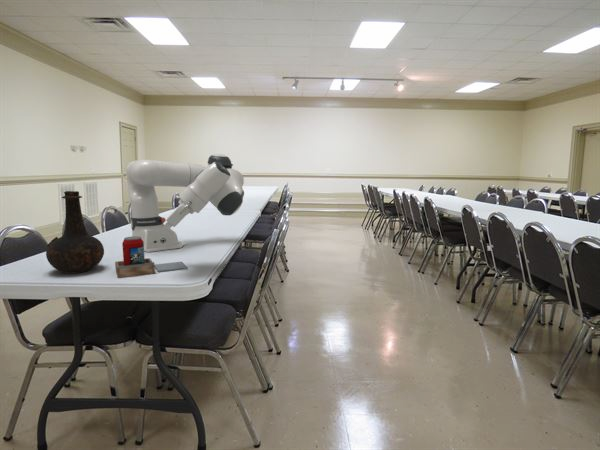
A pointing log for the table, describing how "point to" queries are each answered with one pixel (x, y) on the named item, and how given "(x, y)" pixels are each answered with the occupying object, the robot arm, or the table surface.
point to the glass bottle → (74, 241)
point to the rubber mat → (170, 266)
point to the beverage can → (133, 250)
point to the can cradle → (134, 268)
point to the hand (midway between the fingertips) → (164, 229)
